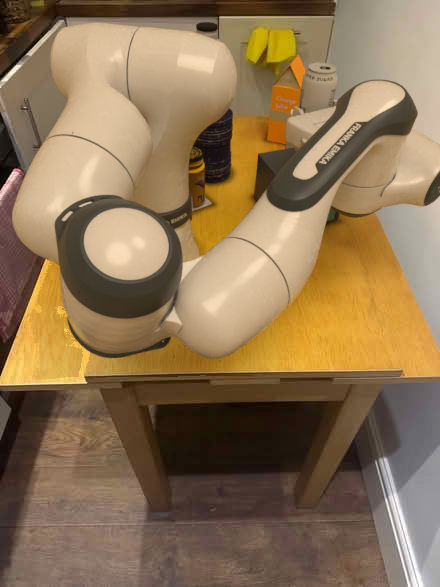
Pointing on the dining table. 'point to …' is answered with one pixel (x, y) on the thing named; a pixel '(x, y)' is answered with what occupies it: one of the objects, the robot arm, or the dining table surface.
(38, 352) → the dining table surface
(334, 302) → the dining table surface
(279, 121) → the orange juice
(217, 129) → the storage jar
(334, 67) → the energy drink can
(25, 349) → the dining table surface
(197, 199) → the condiment
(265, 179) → the small drawer cabinet
